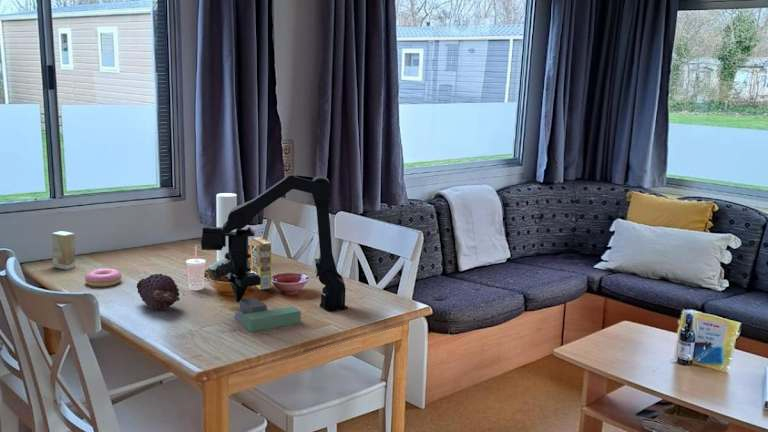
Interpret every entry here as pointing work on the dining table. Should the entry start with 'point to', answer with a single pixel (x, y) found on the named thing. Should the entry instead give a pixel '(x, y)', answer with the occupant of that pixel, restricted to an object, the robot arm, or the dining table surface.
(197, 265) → the beverage cup
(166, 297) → the pine cone
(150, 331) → the dining table surface
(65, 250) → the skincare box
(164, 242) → the dining table surface
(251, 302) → the slate gray cuboid
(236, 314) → the green and blue-gray block
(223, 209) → the cylindrical container
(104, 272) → the doughnut
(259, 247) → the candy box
